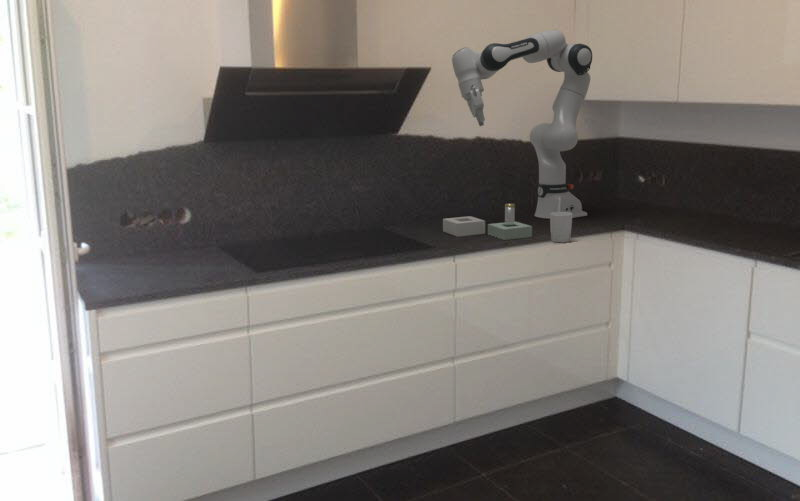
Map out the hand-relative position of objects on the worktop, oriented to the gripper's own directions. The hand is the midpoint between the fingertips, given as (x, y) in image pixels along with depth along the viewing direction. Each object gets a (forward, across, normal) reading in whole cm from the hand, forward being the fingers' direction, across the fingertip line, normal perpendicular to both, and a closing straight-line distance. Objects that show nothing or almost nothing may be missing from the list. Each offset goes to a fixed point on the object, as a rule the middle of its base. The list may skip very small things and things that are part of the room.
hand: (482, 123), depth 290 cm
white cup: (+52, -19, -13) cm, 57 cm away
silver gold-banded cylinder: (+45, -9, +3) cm, 46 cm away
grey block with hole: (+38, -2, +19) cm, 43 cm away
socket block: (+45, -9, +3) cm, 46 cm away
